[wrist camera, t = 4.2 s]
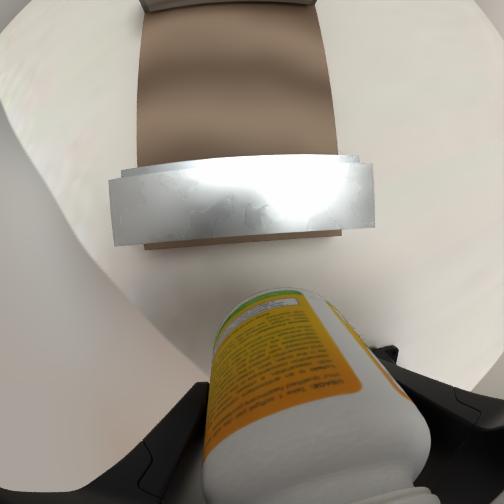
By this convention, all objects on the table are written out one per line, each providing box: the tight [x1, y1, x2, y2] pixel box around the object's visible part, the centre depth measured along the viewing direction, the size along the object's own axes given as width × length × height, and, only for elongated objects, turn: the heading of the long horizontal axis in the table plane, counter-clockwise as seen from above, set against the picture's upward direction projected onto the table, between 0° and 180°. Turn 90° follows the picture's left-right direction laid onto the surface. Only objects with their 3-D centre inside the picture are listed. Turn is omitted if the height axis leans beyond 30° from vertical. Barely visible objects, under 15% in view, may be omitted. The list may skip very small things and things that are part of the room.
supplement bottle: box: [202, 288, 441, 504], centre depth 6 cm, size 5×5×10 cm
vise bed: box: [137, 0, 342, 250], centre depth 13 cm, size 20×12×6 cm, turn 4°
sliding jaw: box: [109, 155, 375, 246], centre depth 13 cm, size 3×12×4 cm, turn 94°
